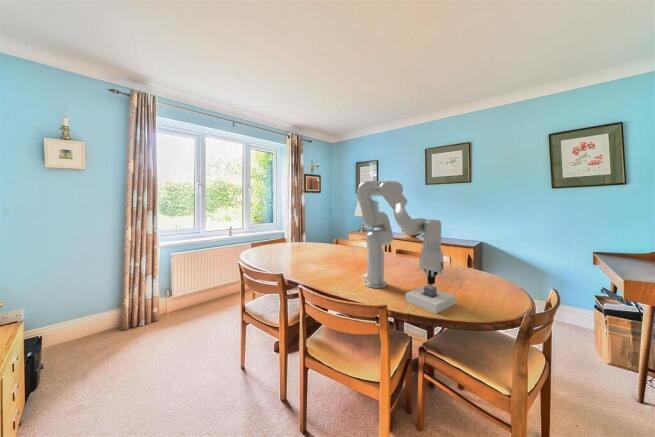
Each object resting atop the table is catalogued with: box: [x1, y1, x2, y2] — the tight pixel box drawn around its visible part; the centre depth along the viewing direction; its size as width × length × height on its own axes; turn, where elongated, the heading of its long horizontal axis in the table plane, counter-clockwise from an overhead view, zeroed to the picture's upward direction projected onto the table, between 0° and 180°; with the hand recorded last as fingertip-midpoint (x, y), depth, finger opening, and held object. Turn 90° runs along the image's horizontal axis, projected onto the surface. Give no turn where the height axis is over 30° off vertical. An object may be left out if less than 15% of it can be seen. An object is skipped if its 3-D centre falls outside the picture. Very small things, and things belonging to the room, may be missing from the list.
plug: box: [423, 284, 438, 298], centre depth 119 cm, size 4×4×8 cm
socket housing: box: [405, 286, 456, 314], centre depth 120 cm, size 16×16×4 cm
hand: (431, 283), depth 119 cm, fingers closed
